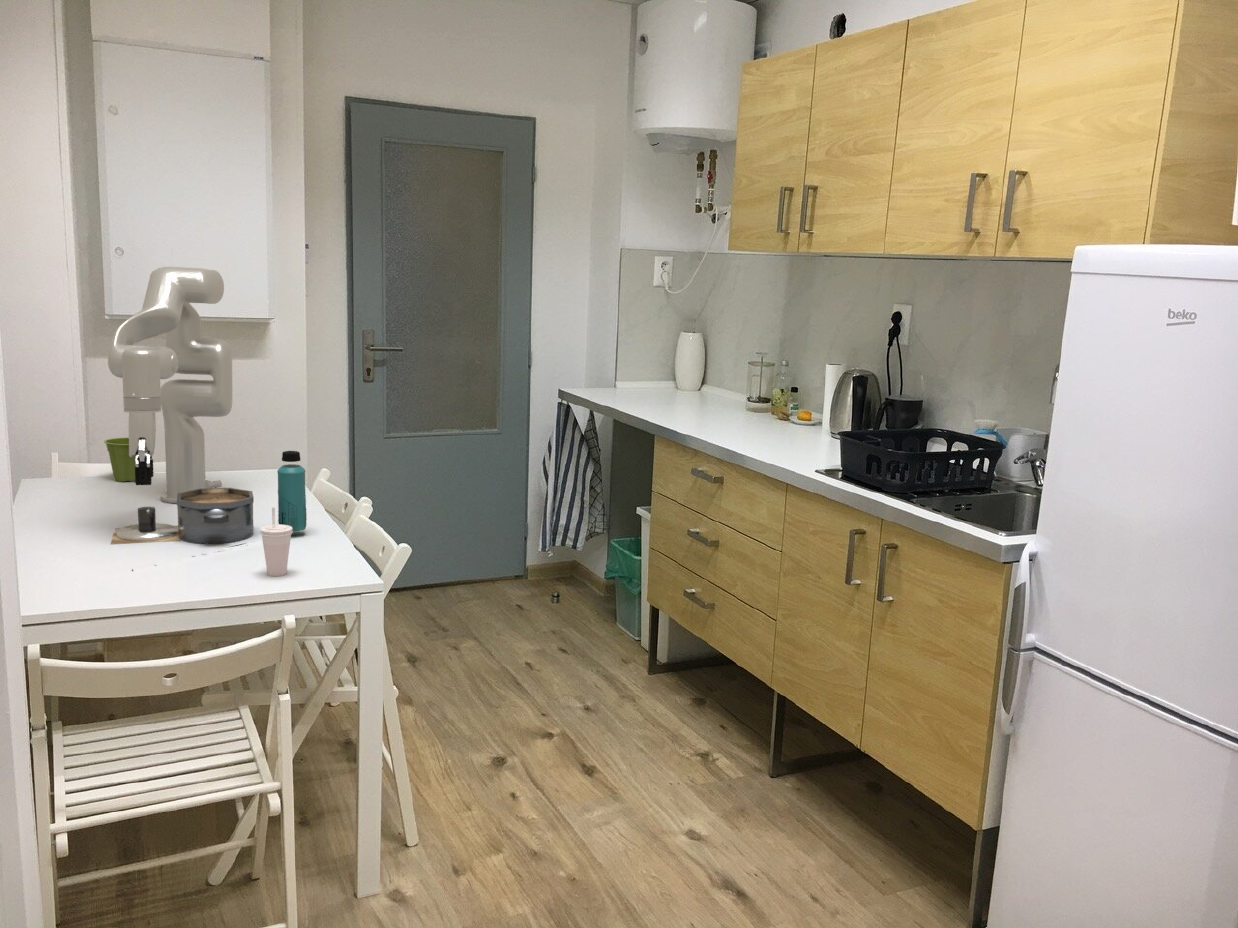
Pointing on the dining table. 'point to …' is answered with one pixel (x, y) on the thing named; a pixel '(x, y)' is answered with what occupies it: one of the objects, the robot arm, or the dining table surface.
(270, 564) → the smoothie
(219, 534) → the stockpot
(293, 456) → the beverage bottle
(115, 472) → the plant pot
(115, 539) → the plate
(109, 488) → the dining table surface
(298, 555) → the dining table surface
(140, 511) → the lid
